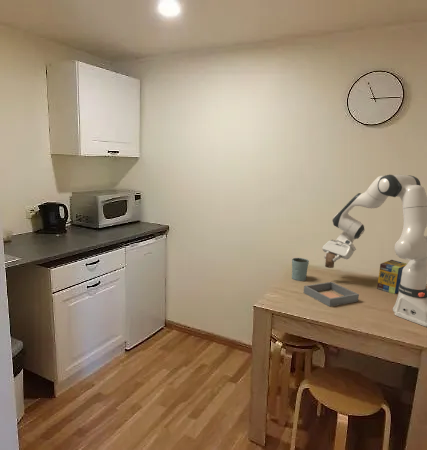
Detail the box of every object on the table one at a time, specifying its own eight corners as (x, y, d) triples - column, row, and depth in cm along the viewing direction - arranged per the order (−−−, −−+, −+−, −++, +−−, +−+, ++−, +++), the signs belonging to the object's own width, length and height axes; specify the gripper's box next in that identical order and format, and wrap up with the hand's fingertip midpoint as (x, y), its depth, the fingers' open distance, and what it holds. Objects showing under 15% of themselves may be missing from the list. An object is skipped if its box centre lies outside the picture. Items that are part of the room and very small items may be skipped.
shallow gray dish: (357, 301, 194) (358, 294, 193) (329, 306, 185) (330, 299, 184) (330, 288, 211) (331, 281, 211) (303, 292, 202) (304, 285, 202)
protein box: (376, 288, 214) (380, 263, 211) (387, 283, 224) (391, 259, 221) (394, 294, 207) (398, 268, 204) (405, 288, 217) (409, 263, 214)
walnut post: (335, 267, 220) (336, 254, 219) (329, 268, 218) (330, 255, 216) (329, 265, 224) (330, 252, 223) (323, 265, 222) (324, 253, 221)
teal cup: (295, 281, 220) (296, 262, 217) (287, 276, 229) (289, 257, 227) (310, 281, 222) (312, 262, 220) (301, 275, 232) (303, 257, 230)
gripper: (328, 235, 230) (314, 252, 228) (353, 243, 212) (339, 260, 210) (332, 242, 233) (319, 258, 231) (358, 250, 215) (344, 267, 213)
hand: (329, 259), depth 220 cm, fingers closed on walnut post, 5 cm apart
